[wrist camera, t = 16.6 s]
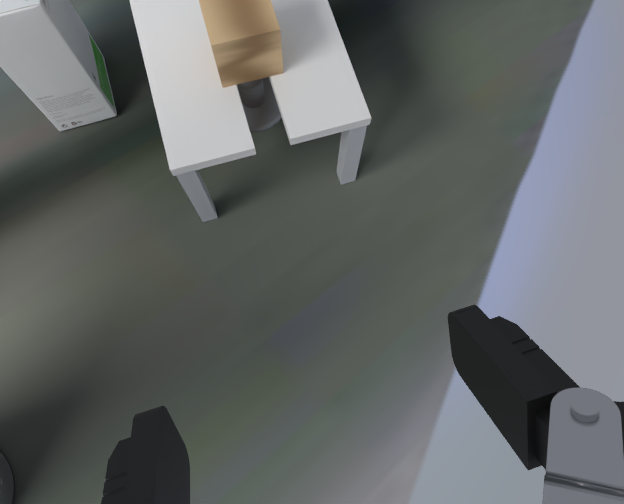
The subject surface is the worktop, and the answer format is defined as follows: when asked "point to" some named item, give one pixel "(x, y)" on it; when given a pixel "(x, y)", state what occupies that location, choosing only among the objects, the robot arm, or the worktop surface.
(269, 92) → the tan block with stem
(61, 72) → the skincare box
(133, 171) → the worktop surface
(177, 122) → the white slotted table
